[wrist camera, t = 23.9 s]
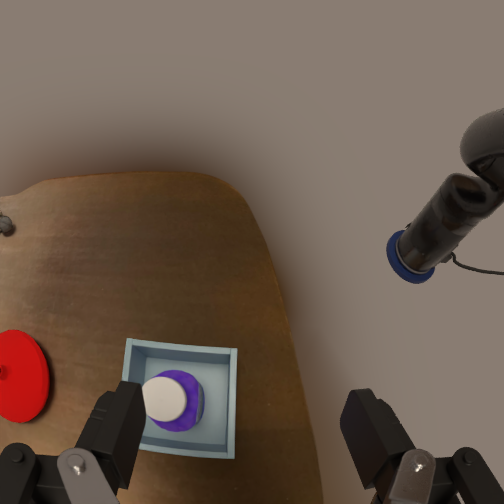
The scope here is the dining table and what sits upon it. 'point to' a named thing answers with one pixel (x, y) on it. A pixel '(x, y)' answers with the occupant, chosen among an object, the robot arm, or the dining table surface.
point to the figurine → (5, 223)
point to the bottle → (174, 400)
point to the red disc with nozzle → (22, 377)
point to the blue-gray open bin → (215, 392)
